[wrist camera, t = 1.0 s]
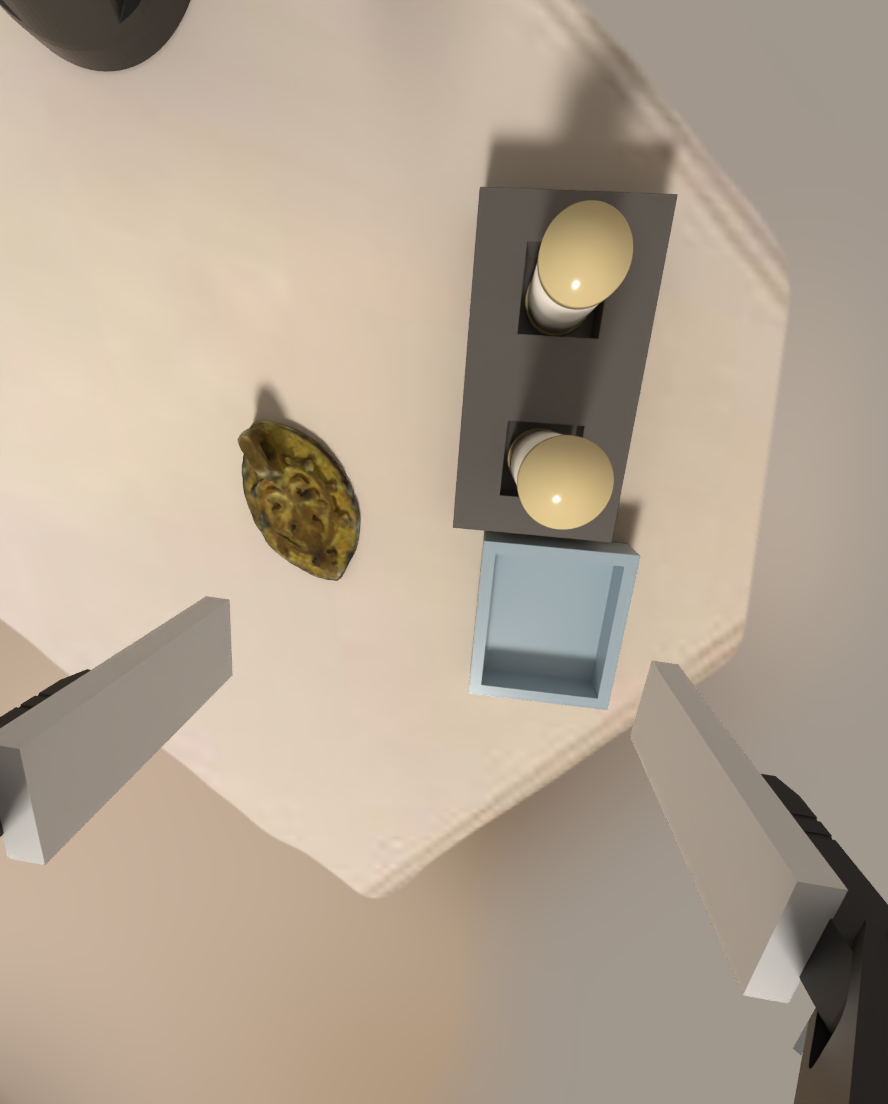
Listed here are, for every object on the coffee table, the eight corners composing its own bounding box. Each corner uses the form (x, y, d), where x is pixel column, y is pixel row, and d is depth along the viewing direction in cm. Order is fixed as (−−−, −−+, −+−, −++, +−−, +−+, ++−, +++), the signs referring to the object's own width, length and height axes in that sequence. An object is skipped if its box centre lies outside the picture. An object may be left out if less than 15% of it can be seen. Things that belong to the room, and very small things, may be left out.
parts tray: (484, 530, 38) (484, 540, 35) (627, 543, 38) (640, 555, 34) (470, 672, 43) (468, 693, 39) (598, 687, 42) (607, 710, 39)
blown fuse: (510, 425, 35) (524, 432, 21) (570, 430, 34) (621, 439, 21) (504, 484, 36) (512, 525, 23) (561, 489, 36) (604, 533, 23)
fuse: (528, 263, 32) (545, 198, 22) (595, 267, 31) (641, 202, 22) (521, 335, 33) (533, 302, 23) (584, 339, 33) (623, 307, 23)
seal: (389, 551, 41) (305, 398, 38) (383, 565, 37) (286, 393, 33) (303, 594, 42) (213, 449, 39) (286, 613, 38) (183, 451, 34)
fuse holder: (481, 214, 32) (479, 186, 28) (654, 221, 31) (677, 194, 27) (456, 516, 38) (452, 527, 35) (599, 529, 37) (611, 542, 34)
